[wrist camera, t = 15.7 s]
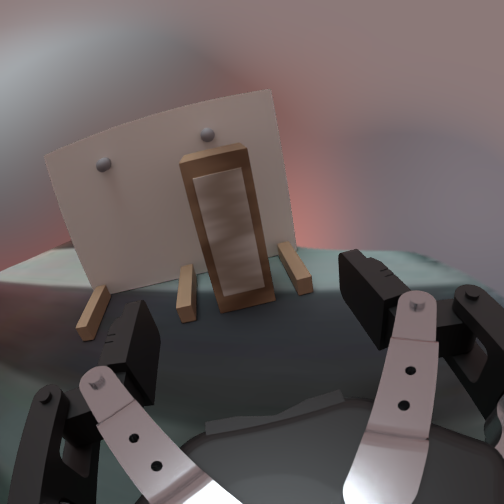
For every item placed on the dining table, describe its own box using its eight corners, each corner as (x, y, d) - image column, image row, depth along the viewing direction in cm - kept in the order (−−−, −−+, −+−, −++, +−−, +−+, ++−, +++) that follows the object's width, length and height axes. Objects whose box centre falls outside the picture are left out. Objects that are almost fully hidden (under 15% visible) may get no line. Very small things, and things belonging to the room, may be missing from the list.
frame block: (220, 314, 24) (178, 164, 18) (217, 284, 28) (183, 155, 23) (276, 301, 24) (247, 147, 19) (265, 273, 28) (239, 142, 23)
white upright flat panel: (76, 342, 23) (0, 171, 16) (99, 291, 31) (49, 153, 24) (322, 289, 24) (295, 79, 17) (293, 245, 32) (268, 90, 25)
